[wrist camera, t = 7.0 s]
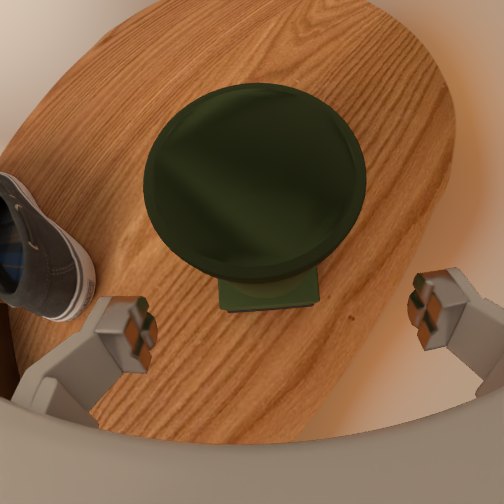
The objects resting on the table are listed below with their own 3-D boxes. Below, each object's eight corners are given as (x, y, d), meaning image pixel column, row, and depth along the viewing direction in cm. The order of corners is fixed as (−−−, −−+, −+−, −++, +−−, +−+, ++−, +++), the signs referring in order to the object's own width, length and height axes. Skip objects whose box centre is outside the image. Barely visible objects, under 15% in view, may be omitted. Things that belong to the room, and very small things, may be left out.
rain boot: (313, 306, 19) (389, 280, 6) (227, 313, 19) (138, 300, 6) (295, 153, 21) (306, 1, 8) (220, 160, 21) (171, 16, 9)
